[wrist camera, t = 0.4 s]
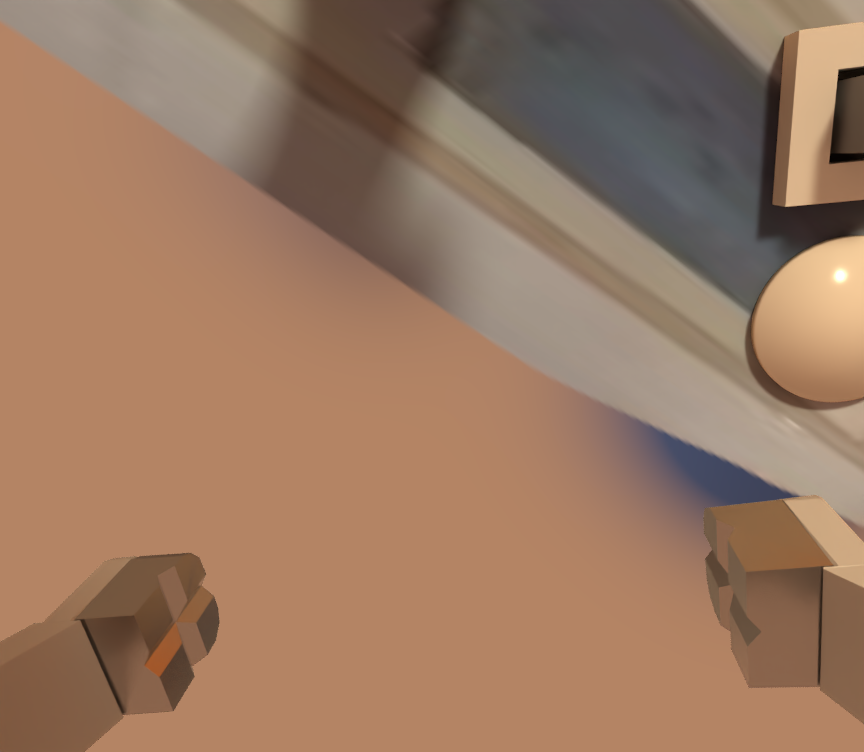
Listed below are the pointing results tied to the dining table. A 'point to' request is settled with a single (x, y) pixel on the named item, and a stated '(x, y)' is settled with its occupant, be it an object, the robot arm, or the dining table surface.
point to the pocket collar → (815, 117)
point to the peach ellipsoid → (815, 322)
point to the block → (849, 117)
